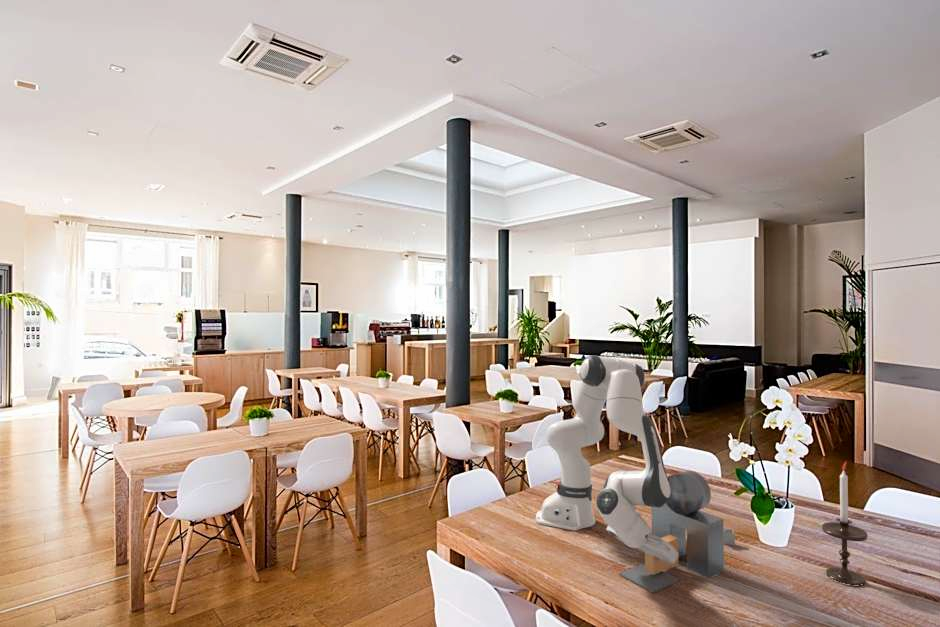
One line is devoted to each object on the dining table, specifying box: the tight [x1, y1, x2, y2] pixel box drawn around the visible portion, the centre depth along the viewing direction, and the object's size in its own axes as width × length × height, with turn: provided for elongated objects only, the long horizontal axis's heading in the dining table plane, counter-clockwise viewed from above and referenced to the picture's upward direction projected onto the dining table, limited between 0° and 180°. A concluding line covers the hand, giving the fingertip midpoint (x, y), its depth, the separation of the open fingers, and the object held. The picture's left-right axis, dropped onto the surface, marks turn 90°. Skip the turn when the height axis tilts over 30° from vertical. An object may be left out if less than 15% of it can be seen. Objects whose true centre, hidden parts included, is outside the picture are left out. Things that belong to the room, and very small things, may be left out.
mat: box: [618, 562, 680, 593], centre depth 152 cm, size 12×12×1 cm
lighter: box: [723, 527, 736, 547], centre depth 175 cm, size 7×2×8 cm, turn 72°
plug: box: [644, 535, 680, 575], centre depth 155 cm, size 12×3×8 cm, turn 123°
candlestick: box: [821, 461, 868, 585], centre depth 151 cm, size 11×11×35 cm
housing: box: [651, 470, 725, 579], centre depth 162 cm, size 8×20×28 cm, turn 33°
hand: (655, 555), depth 153 cm, fingers closed on plug, 3 cm apart
